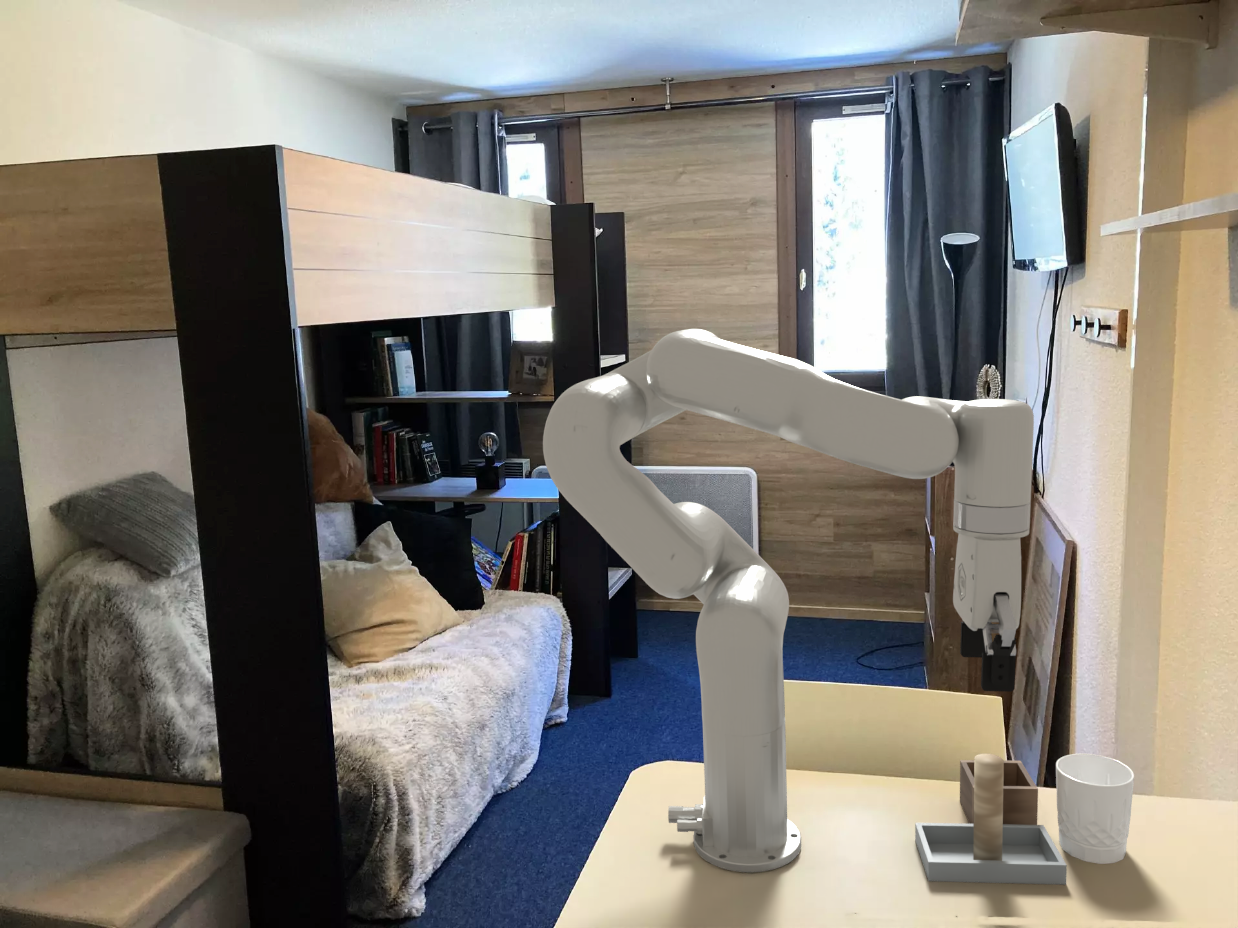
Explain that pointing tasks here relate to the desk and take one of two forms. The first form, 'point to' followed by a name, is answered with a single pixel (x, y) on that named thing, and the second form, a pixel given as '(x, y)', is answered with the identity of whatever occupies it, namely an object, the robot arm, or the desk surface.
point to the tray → (1022, 860)
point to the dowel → (988, 807)
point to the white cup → (1093, 806)
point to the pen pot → (1004, 793)
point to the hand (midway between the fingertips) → (985, 672)
